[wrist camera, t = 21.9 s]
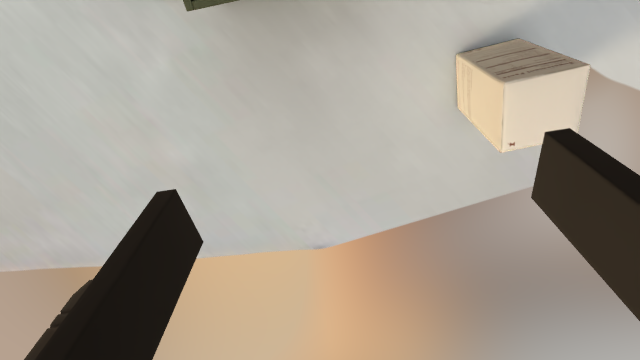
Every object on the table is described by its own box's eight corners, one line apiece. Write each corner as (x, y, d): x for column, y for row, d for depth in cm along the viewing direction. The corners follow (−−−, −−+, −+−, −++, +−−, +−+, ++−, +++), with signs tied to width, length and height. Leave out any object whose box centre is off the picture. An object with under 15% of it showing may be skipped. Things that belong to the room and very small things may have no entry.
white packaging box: (515, 95, 42) (578, 139, 32) (456, 108, 43) (498, 155, 33) (520, 35, 38) (594, 63, 28) (455, 51, 39) (503, 83, 29)
